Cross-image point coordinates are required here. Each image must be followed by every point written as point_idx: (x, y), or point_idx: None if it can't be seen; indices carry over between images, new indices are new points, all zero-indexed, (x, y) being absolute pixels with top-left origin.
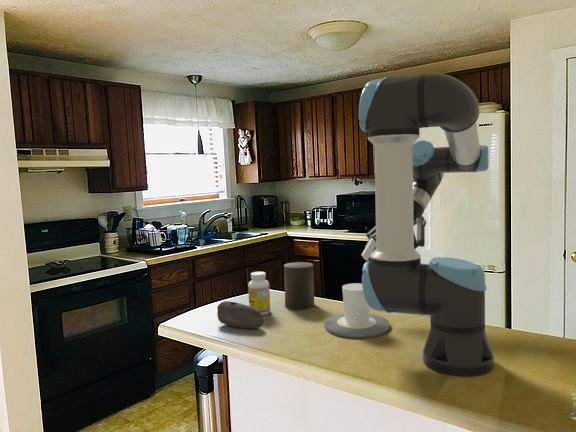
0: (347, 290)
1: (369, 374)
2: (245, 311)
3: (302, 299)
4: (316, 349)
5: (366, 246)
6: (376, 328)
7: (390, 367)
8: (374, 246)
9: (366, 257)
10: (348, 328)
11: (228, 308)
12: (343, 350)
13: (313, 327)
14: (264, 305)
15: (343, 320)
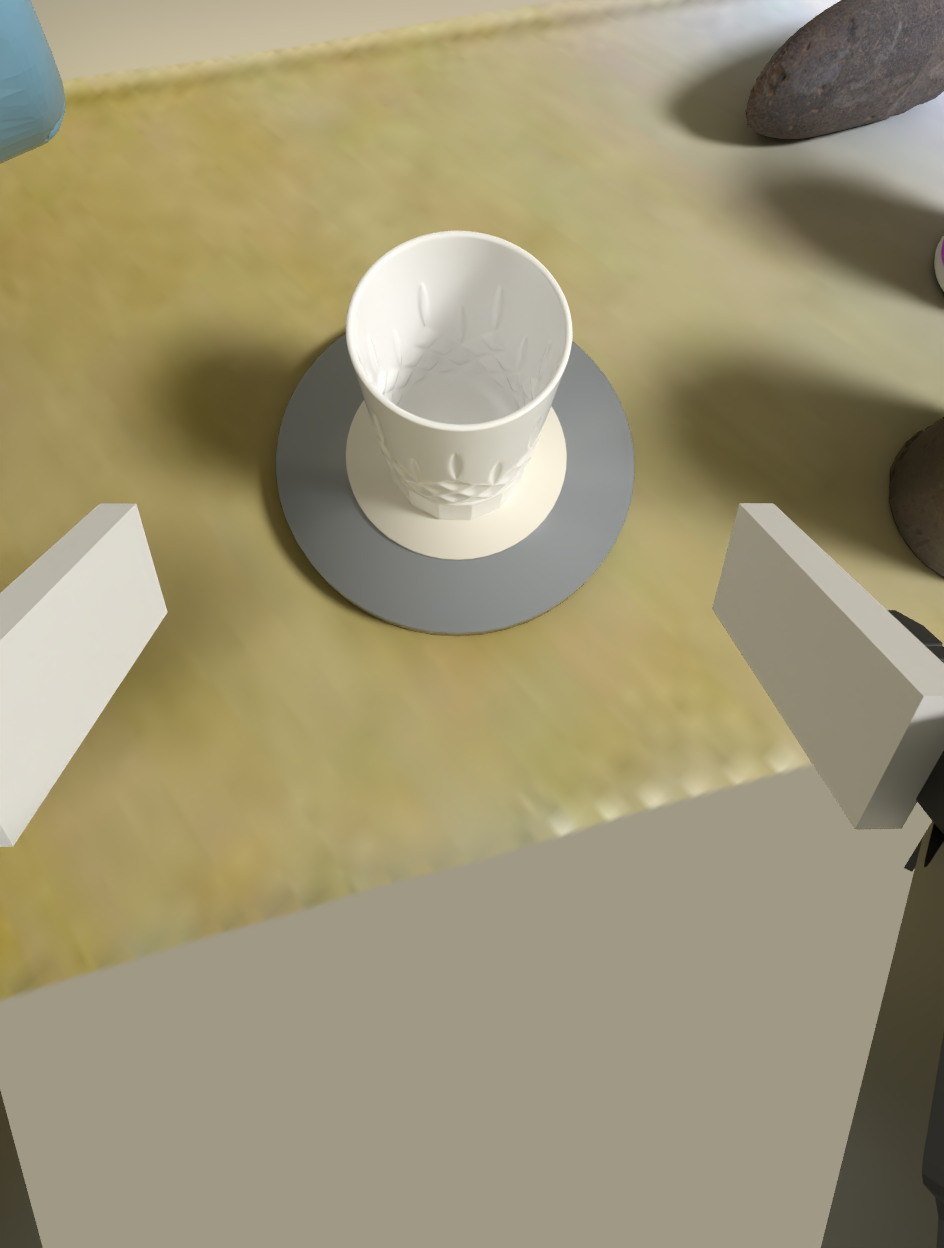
0: (448, 236)
1: None
2: (838, 2)
3: (940, 434)
4: (377, 159)
5: (844, 575)
6: (313, 459)
7: (24, 226)
8: (818, 742)
9: (727, 579)
10: None
11: None
12: (284, 221)
13: (604, 317)
14: None
15: None
